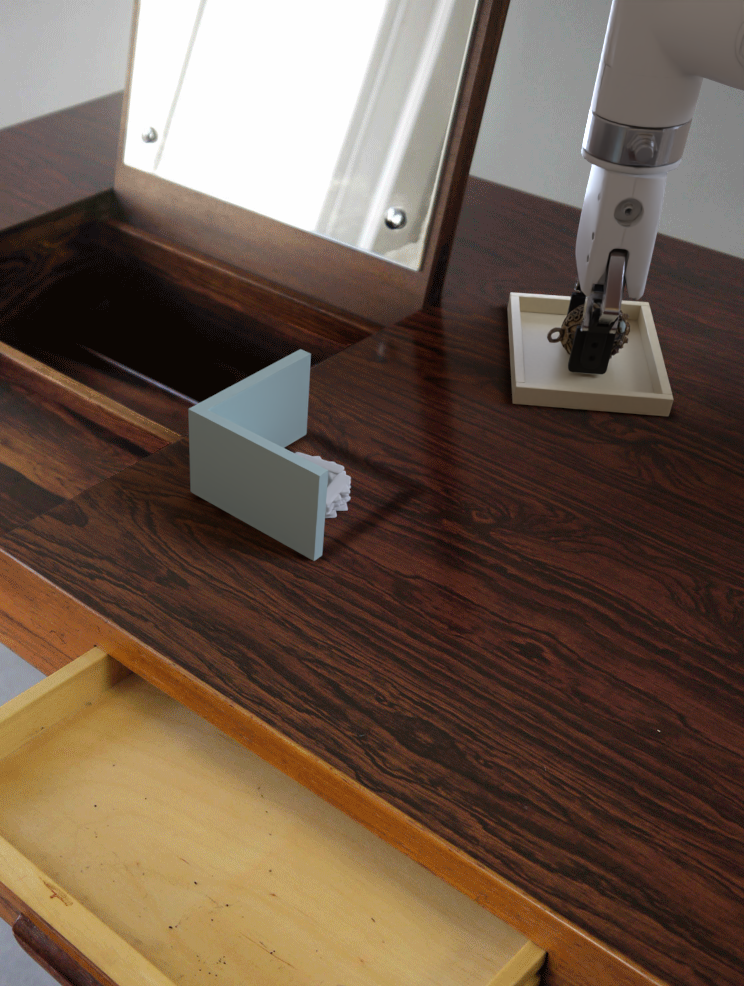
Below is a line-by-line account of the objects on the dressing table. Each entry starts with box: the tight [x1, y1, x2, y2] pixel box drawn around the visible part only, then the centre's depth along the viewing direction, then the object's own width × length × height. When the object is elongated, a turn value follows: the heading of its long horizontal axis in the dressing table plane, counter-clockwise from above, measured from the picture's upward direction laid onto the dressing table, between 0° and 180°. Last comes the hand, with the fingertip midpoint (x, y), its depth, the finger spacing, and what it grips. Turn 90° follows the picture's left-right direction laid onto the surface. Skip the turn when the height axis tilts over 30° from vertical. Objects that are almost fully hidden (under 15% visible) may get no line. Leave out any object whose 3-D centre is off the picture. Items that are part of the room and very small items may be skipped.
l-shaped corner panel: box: [187, 348, 352, 562], centre depth 82 cm, size 12×12×8 cm
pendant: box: [547, 303, 630, 359], centre depth 98 cm, size 5×8×5 cm, turn 104°
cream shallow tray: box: [507, 291, 674, 417], centre depth 99 cm, size 18×13×2 cm
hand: (584, 352), depth 99 cm, fingers open, 5 cm apart
